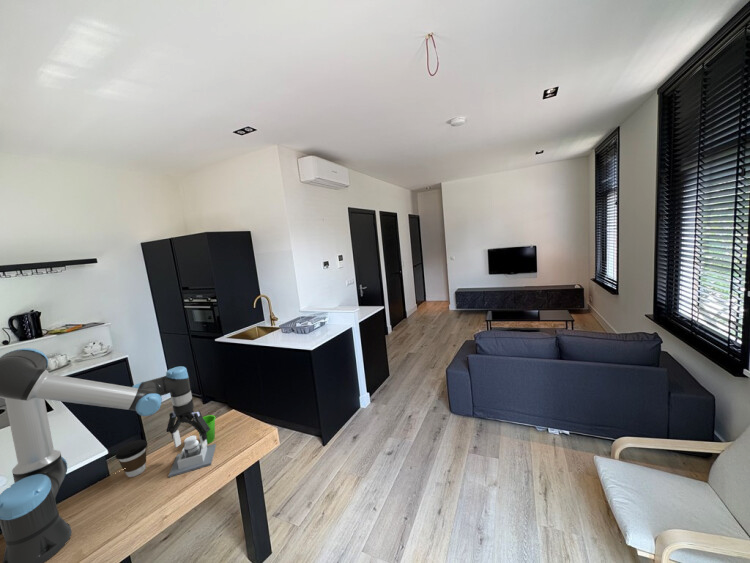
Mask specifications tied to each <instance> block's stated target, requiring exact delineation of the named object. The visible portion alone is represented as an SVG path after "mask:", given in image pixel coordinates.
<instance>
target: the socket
mask: <svg viewBox="0 0 750 563" xmlns="http://www.w3.org/2000/svg"><path fill="white" fill-rule="evenodd" d="M199 447H200V452H201V453H200V454H199V455H195V456H192V457H188V458H186V456H185V451H184V447H183V448H182V450H181V452H180V453H178V454H176V457H175V459H174V462H173V463H172V466H171V469H170V471H169V474H168V478H172V477H176V476H179V475H183V474H185V473H189V472H192V471H196V470H200V469H202V468H206V467H209V466H212V463H213V458H214V454H215V451H216V447H217V443H213V444H210V445H208V444H207V445H206V446H205V447H204V448H203V449H201V443H200V442H199Z"/></svg>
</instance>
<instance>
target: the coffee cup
mask: <svg viewBox="0 0 750 563" xmlns="http://www.w3.org/2000/svg"><path fill="white" fill-rule="evenodd" d="M147 446H148V442H147V441H146V440H144V439H136V440H133V441H129V442H128V443H126V444H124V445H122V446H121V447H119V449H118V450H117V451H116V453H115V456H114V457H115V459H116V460H118V462H119V464H120V466H121V469H122V470H123V469H124V468H126V469H124V470H123V472H125V475H126V477H128V478H135V477H137V476H139V475H140V474H142V473H143V472H145V470H146V468H147Z"/></svg>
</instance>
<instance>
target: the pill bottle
mask: <svg viewBox="0 0 750 563" xmlns="http://www.w3.org/2000/svg"><path fill="white" fill-rule="evenodd" d="M197 439H198V438H197V435H190V436H187V437H186V438H185V439H184V440H183V442H184V445H183V448H184V451H185V456H186V458H188V457H192V456H195V455H199V454H200V453H201V452H200V447H199V444H200V441H199V440H197Z"/></svg>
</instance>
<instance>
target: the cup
mask: <svg viewBox="0 0 750 563" xmlns="http://www.w3.org/2000/svg"><path fill="white" fill-rule="evenodd" d="M202 417H203V419H204V420H205V422H206V423H207V425H208V426H209V428H210V430H209V431H208V432H207V433H206V434H207V439H206V440H207V445H208V444H211V443H213V442H214V441H215V439H216V438H215V437H216V435H215V434H216V428H215V427H216V418H217V417H216V416H215V415H213V414H208V415H204V416H202ZM198 433H199V432H198ZM199 435H200V433H199Z"/></svg>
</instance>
